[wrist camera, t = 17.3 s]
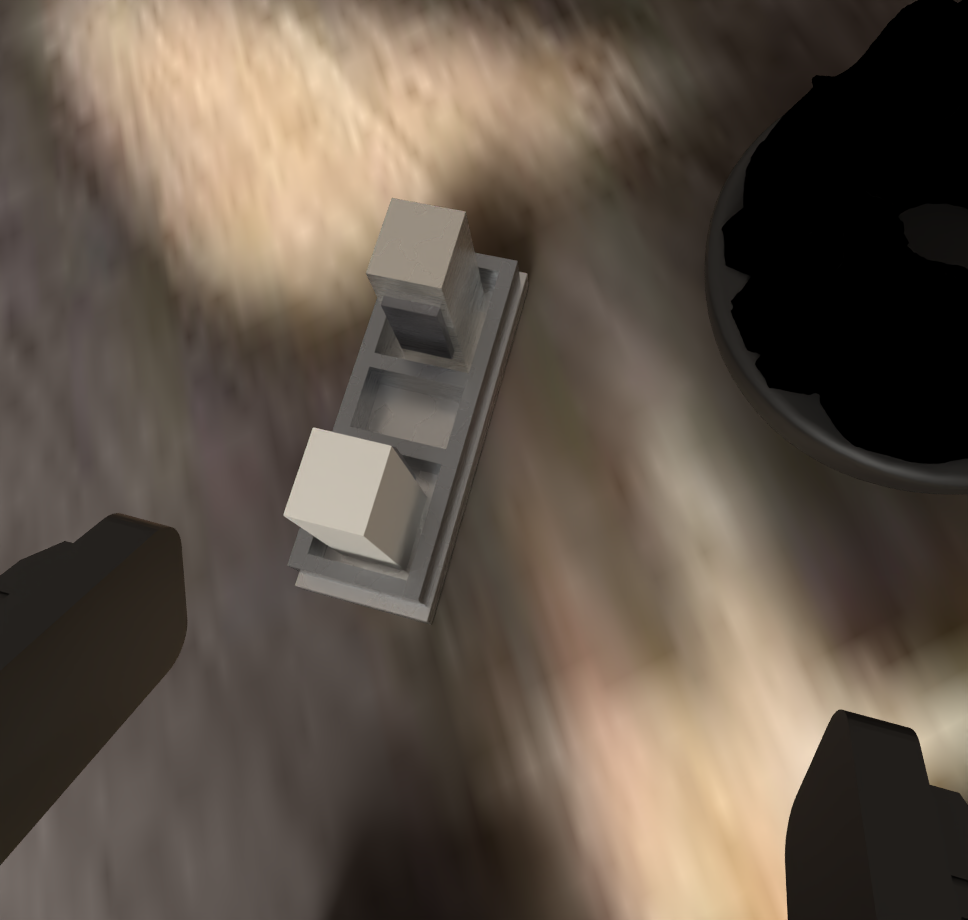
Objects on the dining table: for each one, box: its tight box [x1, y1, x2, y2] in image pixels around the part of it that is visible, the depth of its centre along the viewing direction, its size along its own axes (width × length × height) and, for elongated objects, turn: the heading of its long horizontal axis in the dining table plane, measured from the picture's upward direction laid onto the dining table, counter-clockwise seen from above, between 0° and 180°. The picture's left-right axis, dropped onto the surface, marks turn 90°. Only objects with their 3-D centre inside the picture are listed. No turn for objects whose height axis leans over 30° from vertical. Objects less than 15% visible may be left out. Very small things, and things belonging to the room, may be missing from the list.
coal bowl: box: [705, 0, 968, 494], centre depth 37 cm, size 20×20×19 cm
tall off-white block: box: [283, 428, 427, 571], centre depth 40 cm, size 4×4×9 cm
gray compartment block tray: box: [287, 198, 529, 625], centre depth 42 cm, size 20×7×10 cm, turn 165°
